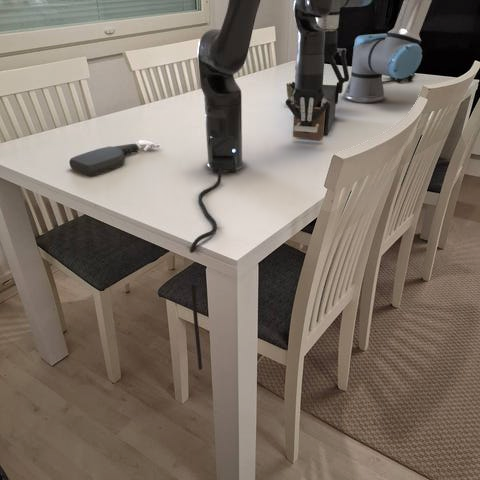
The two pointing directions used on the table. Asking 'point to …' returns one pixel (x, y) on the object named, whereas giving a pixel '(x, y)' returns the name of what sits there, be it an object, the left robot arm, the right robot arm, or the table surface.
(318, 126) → the drawer
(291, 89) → the cup
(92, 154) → the spray bottle
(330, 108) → the cabinet
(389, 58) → the right robot arm
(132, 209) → the table surface
